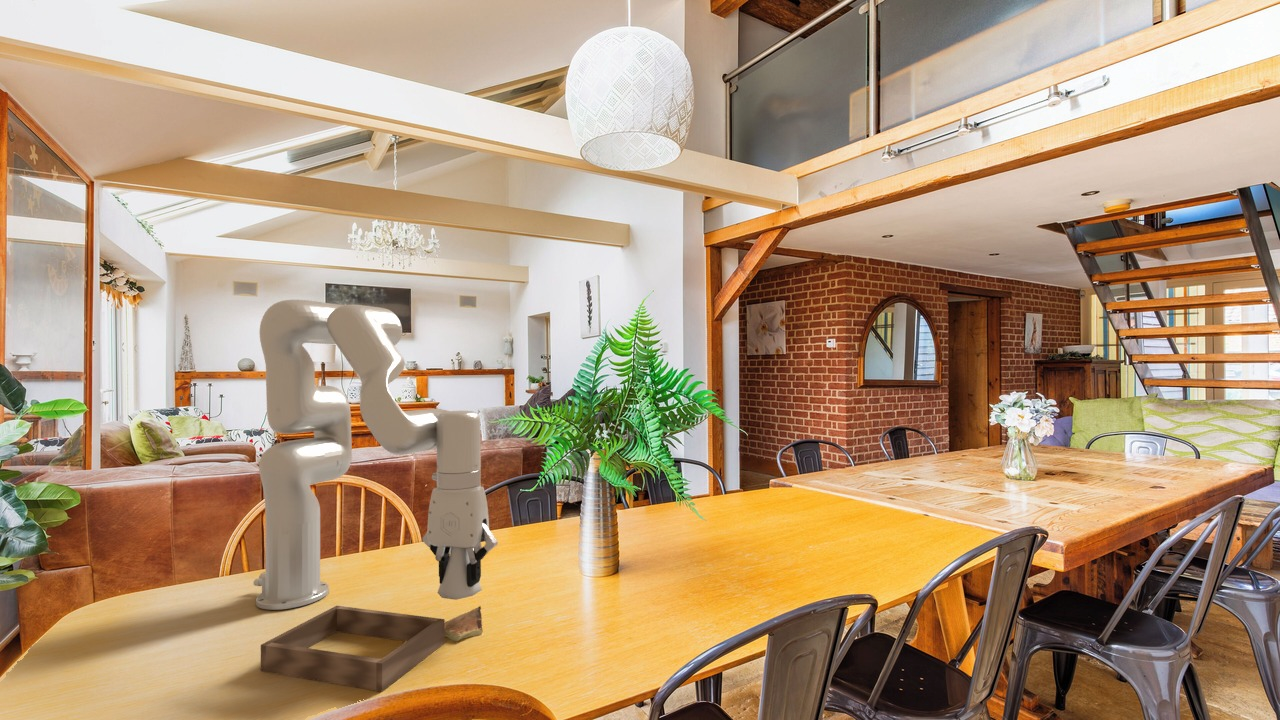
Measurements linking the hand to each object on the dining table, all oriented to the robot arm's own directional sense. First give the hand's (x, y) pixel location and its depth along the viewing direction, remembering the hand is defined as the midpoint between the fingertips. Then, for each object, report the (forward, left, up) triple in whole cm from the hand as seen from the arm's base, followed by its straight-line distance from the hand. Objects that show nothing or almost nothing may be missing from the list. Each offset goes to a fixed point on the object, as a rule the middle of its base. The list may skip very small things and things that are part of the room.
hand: (459, 581), depth 103 cm
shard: (0, 0, -9) cm, 9 cm away
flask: (0, 0, -2) cm, 2 cm away
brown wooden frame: (-10, -13, -8) cm, 19 cm away
